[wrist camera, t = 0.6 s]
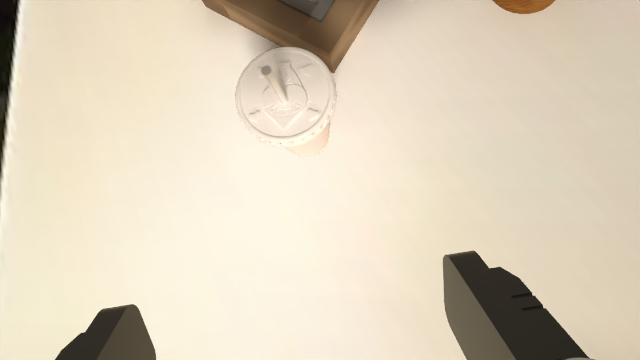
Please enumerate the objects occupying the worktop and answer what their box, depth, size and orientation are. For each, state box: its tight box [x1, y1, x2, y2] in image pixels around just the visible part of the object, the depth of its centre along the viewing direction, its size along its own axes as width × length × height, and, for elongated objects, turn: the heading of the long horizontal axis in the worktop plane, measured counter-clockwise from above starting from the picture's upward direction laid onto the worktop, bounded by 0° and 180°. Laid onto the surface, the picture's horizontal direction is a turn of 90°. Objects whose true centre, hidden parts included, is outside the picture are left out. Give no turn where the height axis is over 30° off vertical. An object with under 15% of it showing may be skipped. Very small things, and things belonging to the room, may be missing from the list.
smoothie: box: [235, 47, 337, 158], centre depth 27 cm, size 6×6×14 cm
